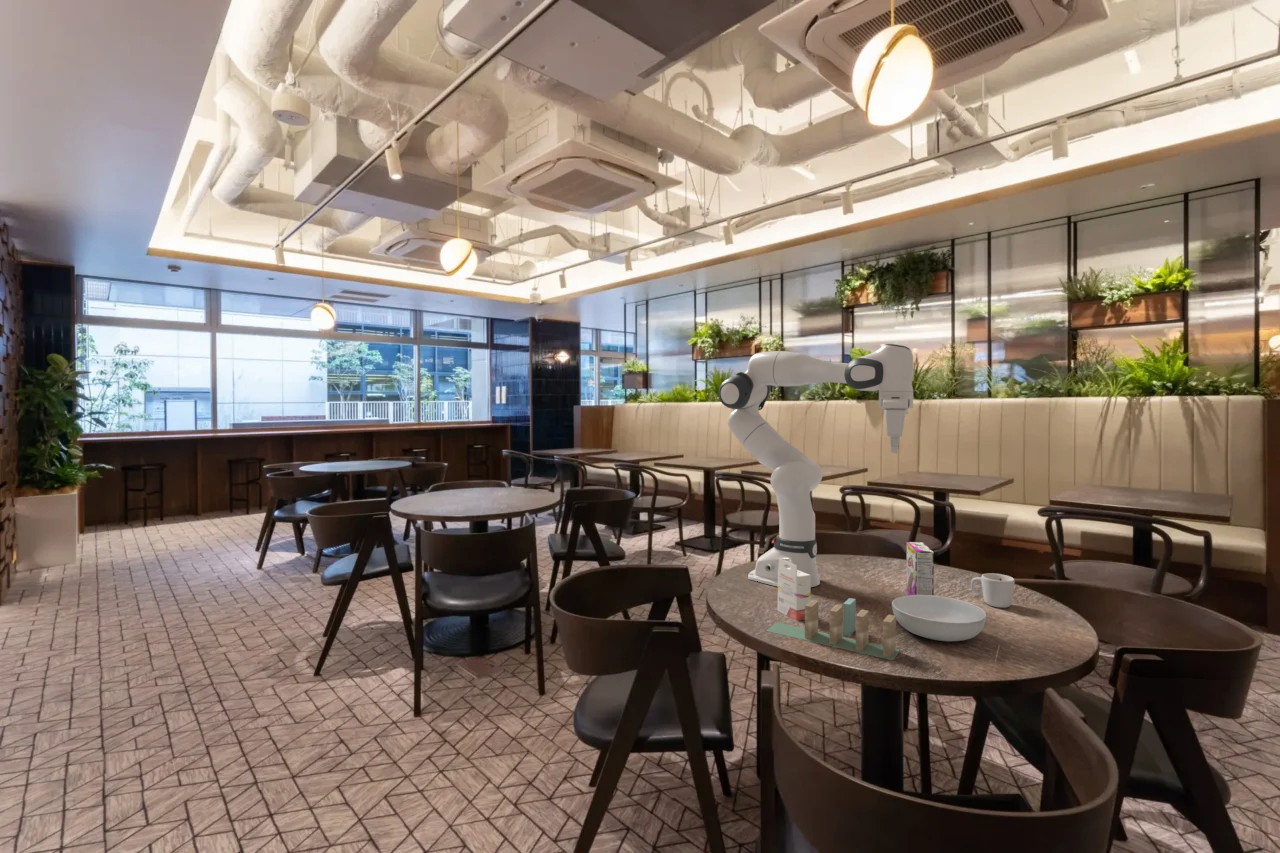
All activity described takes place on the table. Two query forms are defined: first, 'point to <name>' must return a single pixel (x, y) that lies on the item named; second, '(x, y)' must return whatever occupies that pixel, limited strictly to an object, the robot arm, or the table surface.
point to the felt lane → (825, 639)
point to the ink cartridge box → (793, 590)
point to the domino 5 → (889, 635)
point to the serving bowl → (939, 617)
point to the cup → (995, 589)
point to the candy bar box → (920, 569)
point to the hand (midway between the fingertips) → (894, 451)
